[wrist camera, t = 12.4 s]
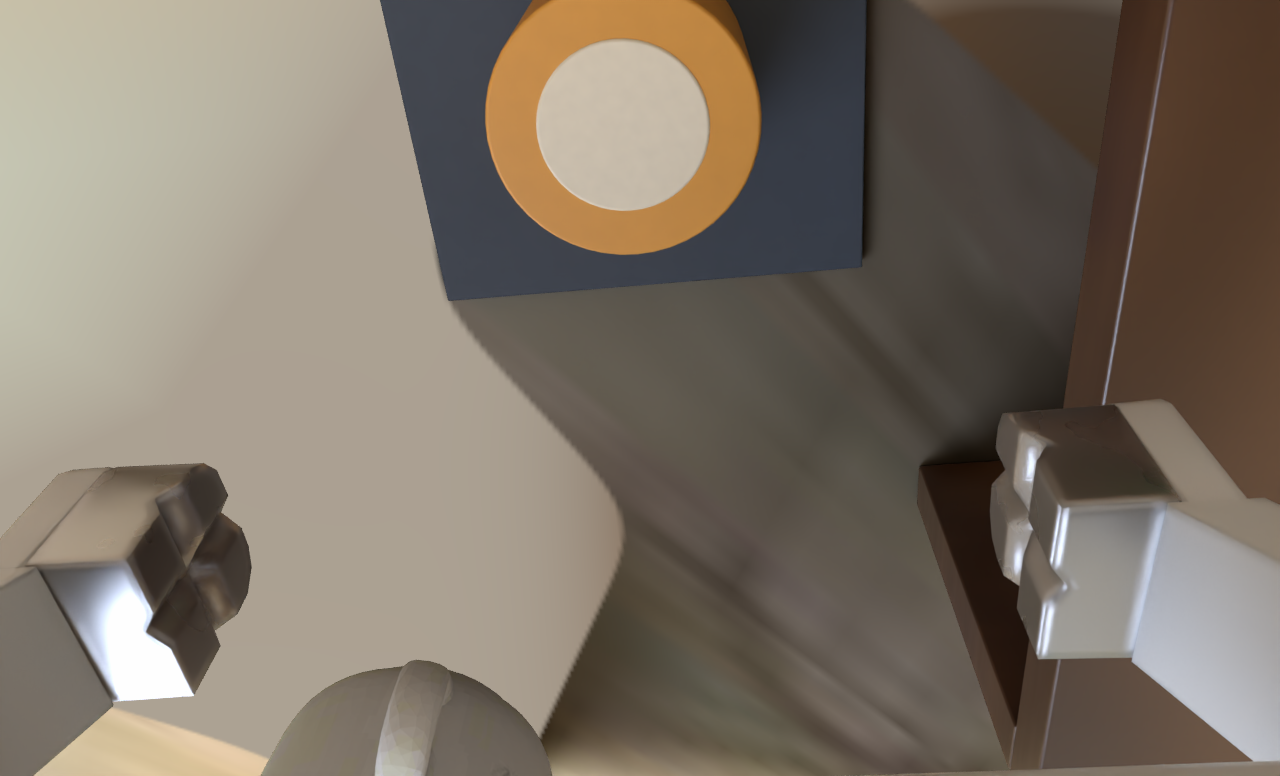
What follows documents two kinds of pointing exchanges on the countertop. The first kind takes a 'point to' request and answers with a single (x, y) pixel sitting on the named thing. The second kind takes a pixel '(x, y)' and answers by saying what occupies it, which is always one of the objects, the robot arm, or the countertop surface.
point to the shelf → (1147, 358)
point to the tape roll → (624, 119)
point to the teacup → (408, 729)
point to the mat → (730, 247)
